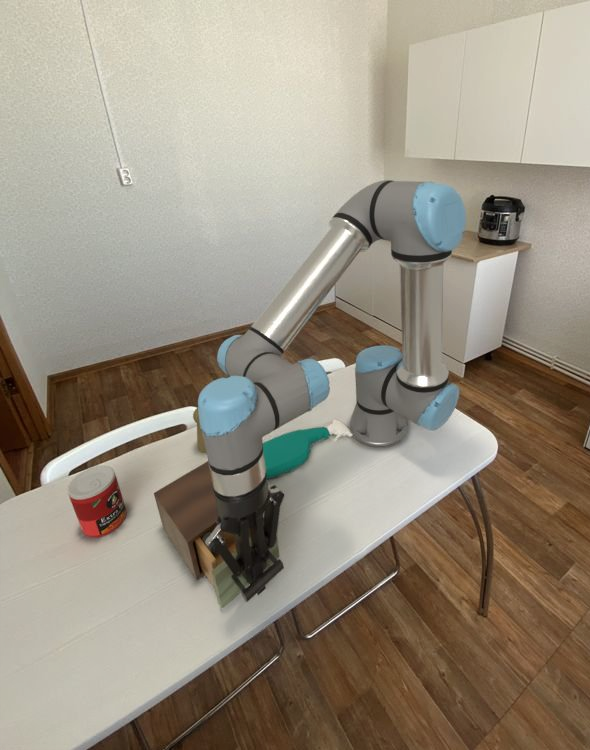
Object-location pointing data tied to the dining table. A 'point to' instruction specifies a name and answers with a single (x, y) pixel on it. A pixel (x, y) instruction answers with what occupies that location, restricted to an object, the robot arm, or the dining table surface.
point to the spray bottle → (296, 447)
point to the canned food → (97, 501)
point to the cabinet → (188, 512)
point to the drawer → (223, 576)
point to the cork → (199, 433)
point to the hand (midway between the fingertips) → (257, 585)
